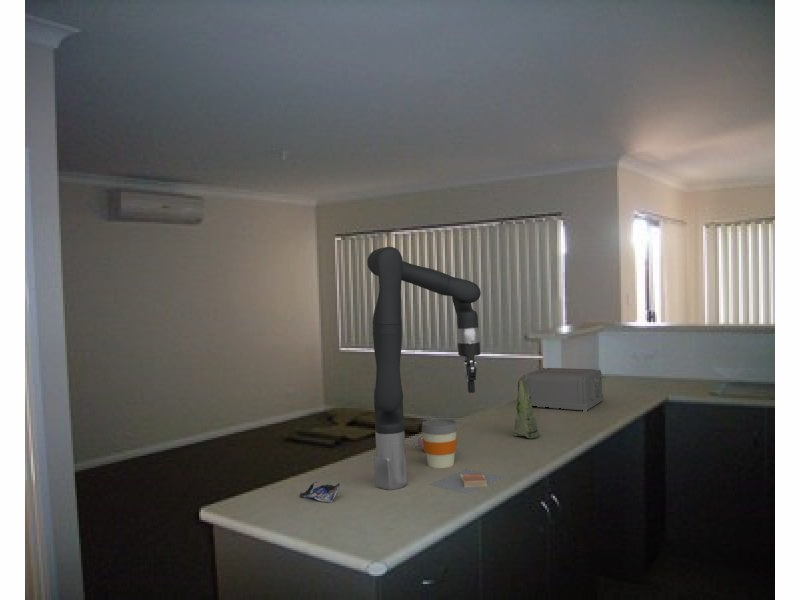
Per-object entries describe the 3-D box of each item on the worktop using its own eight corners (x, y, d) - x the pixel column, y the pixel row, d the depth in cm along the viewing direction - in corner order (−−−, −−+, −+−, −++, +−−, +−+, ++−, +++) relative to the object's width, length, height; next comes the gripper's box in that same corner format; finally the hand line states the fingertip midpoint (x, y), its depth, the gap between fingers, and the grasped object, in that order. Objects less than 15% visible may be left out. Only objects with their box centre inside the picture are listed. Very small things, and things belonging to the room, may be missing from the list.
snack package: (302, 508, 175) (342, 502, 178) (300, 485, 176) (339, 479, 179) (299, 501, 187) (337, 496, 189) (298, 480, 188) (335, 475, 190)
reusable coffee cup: (417, 469, 208) (416, 425, 208) (429, 459, 220) (427, 418, 219) (452, 471, 203) (451, 427, 203) (463, 461, 215) (461, 419, 215)
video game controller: (435, 450, 238) (428, 433, 240) (444, 446, 235) (436, 429, 237) (421, 456, 230) (413, 439, 232) (429, 452, 227) (422, 434, 229)
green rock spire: (523, 441, 240) (520, 378, 240) (506, 435, 251) (503, 375, 251) (545, 437, 245) (543, 375, 244) (528, 431, 255) (525, 372, 255)
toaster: (594, 413, 289) (593, 376, 289) (524, 407, 309) (523, 374, 309) (611, 402, 315) (610, 368, 314) (545, 398, 334) (544, 366, 334)
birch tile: (482, 478, 193) (487, 486, 185) (460, 479, 193) (464, 487, 185) (482, 472, 193) (486, 479, 185) (460, 473, 193) (464, 481, 185)
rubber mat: (467, 495, 179) (467, 493, 179) (428, 485, 189) (428, 484, 189) (504, 478, 194) (504, 476, 194) (466, 470, 204) (466, 469, 204)
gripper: (455, 340, 210) (458, 390, 211) (459, 343, 197) (462, 396, 197) (476, 339, 210) (479, 388, 211) (482, 342, 197) (485, 395, 197)
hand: (471, 392), depth 204 cm, fingers closed
